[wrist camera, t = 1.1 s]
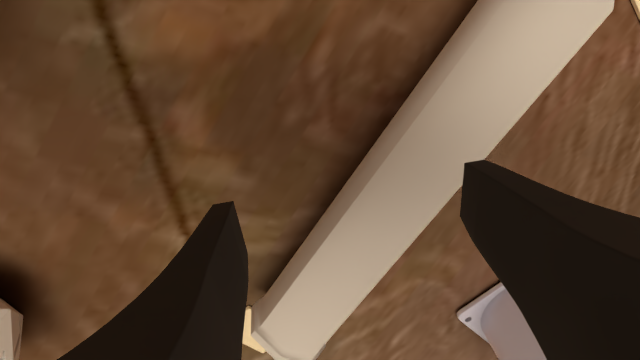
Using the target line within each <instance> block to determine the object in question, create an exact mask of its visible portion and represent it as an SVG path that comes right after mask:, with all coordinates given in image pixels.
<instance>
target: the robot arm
mask: <svg viewBox="0 0 640 360" xmlns="http://www.w3.org/2000/svg"><path fill="white" fill-rule="evenodd" d="M460 217H461V219H462V221H463V223H464V225H465V227H466V229H467V231H468V233H469V235H470V237H471V239H472V241H473V243H474V244H475V246H476V247H477V249H478V250H479V251H480V253H481V254H482V256H483V257H484V259H485V260H486V262H487V263H488V264H489V266H490V267H491V269H492V270H493V271H494V273H495V274H496V276H497V277H498V278H499V280H500V281H501V282H500V283H499V284H497V285H496V286H494V287H493V288H491V289H490V290H488V291H487V292H485V293H484V294H482V295H481V296H480V297H478V298H477V299H475V300H474V301H472V302H471V303H469V304H468V305H466V306H465V307H463V308H462V309H460V310H459V311H458V312H457V317H458V319H459V320H460V321H461V322H462V323H464V324H465V325H466V326H467V327H469V328H470V329H471V330H473V331H474V332H475V333H476V334H478V335H479V336H480V337H481V338H483V339H484V340H485V341H486V342H488V343H489V344H490V345H491V347H492V349H493V350H494V352H495V354H496V356H497V357H498V359H499V360H640V218H639V217H635V216H631V215H628V214H624V213H621V212H617V211H614V210H611V209H607V208H604V207H601V206H598V205H595V204H592V203H589V202H586V201H583V200H580V199H578V198H575V197H572V196H570V195H567V194H564V193H562V192H559V191H557V190H554V189H552V188H549V187H547V186H545V185H542V184H540V183H538V182H535V181H533V180H531V179H528V178H526V177H524V176H522V175H519V174H517V173H515V172H513V171H510V170H508V169H506V168H504V167H501V166H499V165H497V164H494V163H491V162H489V161H486V160H479V161H473V162H467V163H464V174H463V186H462V198H461V210H460ZM247 291H248V254H247V249H246V245H245V242H244V238H243V235H242V231H241V227H240V224H239V220H238V217H237V213H236V210H235V206H234V202H233V201H232V202H226V203H220V204H214V205H212V207H211V208H210V210H209V211H208V212H207V214H206V215H205V217H204V218H203V219H202V221H201V222H200V224H199V225H198V227H197V228H196V229H195V231H194V232H193V234H192V235H191V236H190V238H189V239H188V240H187V242H186V243H185V244H184V246H183V247H182V249H181V250H180V251H179V252H178V254H177V255H176V256H175V257H174V258H173V260H172V261H171V262H170V263H169V264H168V266H167V267H166V268H165V269H164V270H163V271H162V273H161V274H160V275H159V276H158V277H157V278H156V279H155V280H154V281H153V282H152V283H151V284H150V285H149V286H148V287H147V288H146V289H145V290H144V291H143V292H142V293H141V294H140V295H139V296H138V297H137V298H136V299H135V300H134V301H132V302H131V303H130V304H129V305H128V306H127V307H126V308H124V309H123V310H122V311H121V312H120V313H119V314H117V315H116V316H115V317H114V318H113V319H112V320H110V321H109V322H108V323H107V324H106V325H104V326H103V327H102V328H100V329H99V330H98V331H97V332H95V333H94V334H93V335H91V336H90V337H89V338H87V339H86V340H85V341H83V342H82V343H80V344H79V345H78V346H76V347H75V348H74V349H72V350H71V351H69V352H68V353H66V354H65V355H63V356H62V357H60V358H59V359H57V360H241V354H242V341H243V331H244V321H245V311H246V301H247Z"/></svg>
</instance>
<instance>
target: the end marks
mask: <svg viewBox="0 0 640 360" xmlns="http://www.w3.org/2000/svg"><path fill="white" fill-rule="evenodd" d="M631 3H632V5H633V7H634V9H635V11H636V14H637V16H638V18H639V20H640V0H631ZM251 308H252V307H251V306H247V307H246V311H245V321H244V331H243V341H242V343H243V344H245V345H247V346H249V347H251V348H253V349H255V350H257V351H259V352H261V353H264V352H265V351H266V350H265V349H264V348H263V347H262V346H261V345H260V344H259V343H258V342H257V341H256V340H255V339H254V338H253V337H252V336H251Z"/></svg>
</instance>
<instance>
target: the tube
mask: <svg viewBox="0 0 640 360" xmlns="http://www.w3.org/2000/svg"><path fill="white" fill-rule="evenodd" d="M613 7H614V0H478V1H477V2H476V4H475V5H474V7H473V8H472V9H471V11H470V12H469V13H468V15H467V16H466V18H465V19H464V20H463V22H462V23H461V25H460V26H459V27H458V29H457V30H456V31H455V33H454V34H453V36H452V37H451V38H450V40H449V41H448V43H447V44H446V45H445V47H444V48H443V49H442V51H441V52H440V54H439V55H438V56H437V58H436V59H435V61H434V62H433V63H432V65H431V66H430V67H429V69H428V70H427V72H426V73H425V74H424V76H423V77H422V79H421V80H420V81H419V83H418V84H417V85H416V87H415V88H414V90H413V91H412V92H411V94H410V95H409V97H408V98H407V99H406V101H405V102H404V104H403V105H402V106H401V108H400V109H399V110H398V112H397V113H396V115H395V116H394V117H393V119H392V120H391V122H390V123H389V124H388V126H387V127H386V128H385V130H384V131H383V133H382V134H381V135H380V137H379V138H378V140H377V141H376V142H375V144H374V145H373V146H372V148H371V149H370V151H369V152H368V153H367V155H366V156H365V158H364V159H363V160H362V162H361V163H360V164H359V166H358V167H357V169H356V170H355V171H354V173H353V174H352V176H351V177H350V178H349V180H348V181H347V182H346V184H345V185H344V187H343V188H342V189H341V191H340V192H339V194H338V195H337V196H336V198H335V199H334V200H333V202H332V203H331V205H330V206H329V207H328V209H327V210H326V212H325V213H324V214H323V216H322V217H321V218H320V220H319V221H318V223H317V224H316V225H315V227H314V228H313V230H312V231H311V232H310V234H309V235H308V236H307V238H306V239H305V241H304V242H303V243H302V245H301V246H300V248H299V249H298V250H297V252H296V253H295V255H294V256H293V257H292V259H291V260H290V261H289V263H288V264H287V266H286V267H285V268H284V270H283V271H282V273H281V274H280V275H279V277H278V278H277V279H276V281H275V282H274V284H273V285H272V286H271V288H270V289H269V291H268V292H267V293H266V295H265V296H263V297H262V298H261V299H259V300H258V301H257V302H256V303H255V304H254V305H253V306H252V308H251V336H252V337H253V338H254V339H255V340H256V341H257V342H258V343H259V344H260V345H261V346H262V347H263V348H264V349H265V350H266V351H267V352H268V353H269V354H270V355H271V356H272V357H273V358H274V359H275V360H316V359H317V357H318V356H319V355H320V353H321V352H322V351H323V349H324V348H325V347H326V345H325V343H326V342H327V341H328V340H329V339H330V338H331V336H332V335H333V334H334V333H335V332H336V331H337V329H338V328H339V327H340V326H341V325H342V324H343V322H344V321H345V320H346V319H347V318H348V317H349V315H350V314H351V313H352V312H353V311H354V310H355V309H356V307H357V306H358V305H359V304H360V303H361V302H362V300H363V299H364V298H365V297H366V296H367V295H368V293H369V292H370V291H371V290H372V289H373V288H374V287H375V285H376V284H377V283H378V282H379V281H380V280H381V278H382V277H383V276H384V275H385V274H386V273H387V271H388V270H389V269H390V268H391V267H392V266H393V265H394V263H395V262H396V261H397V260H398V259H399V258H400V256H401V255H402V254H403V253H404V252H405V251H406V249H407V248H408V247H409V246H410V245H411V244H412V242H413V241H414V240H415V239H416V238H417V237H418V236H419V234H420V233H421V232H422V231H423V230H424V229H425V227H426V226H427V225H428V224H429V223H430V222H431V220H432V219H433V218H434V217H435V216H436V215H437V214H438V212H439V211H440V210H441V209H442V208H443V207H444V205H445V204H446V203H447V202H448V201H449V200H450V198H451V197H452V196H453V195H454V194H455V193H456V192H457V190H458V189H459V188H460V187H461V186H462V185H463V174H464V163H467V162H473V161H479V160H484V159H485V158H486V157H487V156H488V154H489V153H490V152H491V151H492V150H493V149H494V147H495V146H496V145H497V144H498V143H499V142H500V141H501V139H502V138H503V137H504V136H505V135H506V134H507V132H508V131H509V130H510V129H511V128H512V127H513V125H514V124H515V123H516V122H517V121H518V120H519V119H520V117H521V116H522V115H523V114H524V113H525V112H526V110H527V109H528V108H529V107H530V106H531V105H532V103H533V102H534V101H535V100H536V99H537V98H538V96H539V95H540V94H541V93H542V92H543V91H544V90H545V88H546V87H547V86H548V85H549V84H550V83H551V81H552V80H553V79H554V78H555V77H556V76H557V74H558V73H559V72H560V71H561V70H562V69H563V68H564V66H565V65H566V64H567V63H568V62H569V61H570V59H571V58H572V57H573V56H574V55H575V54H576V52H577V51H578V50H579V49H580V48H581V47H582V46H583V44H584V43H585V42H586V41H587V40H588V39H589V37H590V36H591V35H592V34H593V33H594V32H595V30H596V29H597V28H598V27H599V26H600V25H601V23H602V22H603V21H604V20H605V19H606V18H607V17H608V15H609V14H610V13H611V12H612V11H613Z"/></svg>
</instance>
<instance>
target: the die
mask: <svg viewBox="0 0 640 360" xmlns="http://www.w3.org/2000/svg"><path fill="white" fill-rule="evenodd" d="M22 325H23V315H22V314H21V313H19V312H18V311H17V310H15V309H14V308H13V307H11V306H10V305H9V304H8V303H6V302H5V301H4V300H2V299H1V298H0V360H19V357H20V346H21V336H22Z"/></svg>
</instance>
